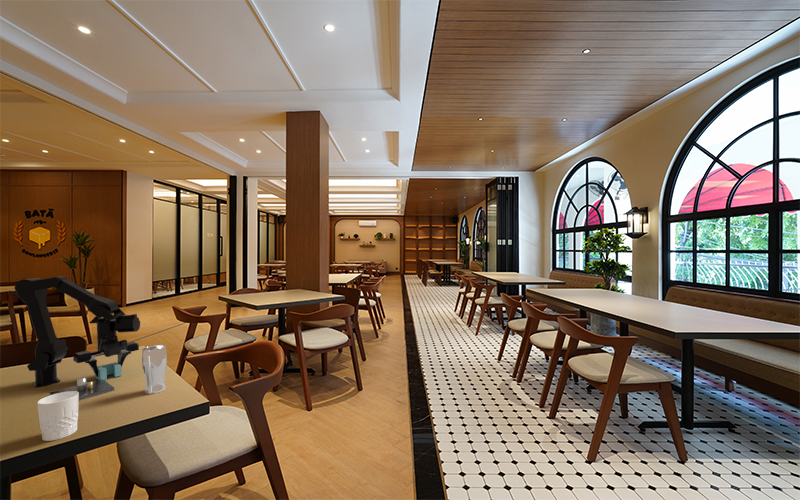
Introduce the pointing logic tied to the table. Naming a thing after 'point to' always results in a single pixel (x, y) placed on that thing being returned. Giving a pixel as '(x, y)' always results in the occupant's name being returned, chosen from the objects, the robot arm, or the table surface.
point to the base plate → (87, 388)
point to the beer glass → (154, 368)
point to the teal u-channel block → (108, 370)
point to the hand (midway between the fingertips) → (108, 373)
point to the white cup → (58, 415)
